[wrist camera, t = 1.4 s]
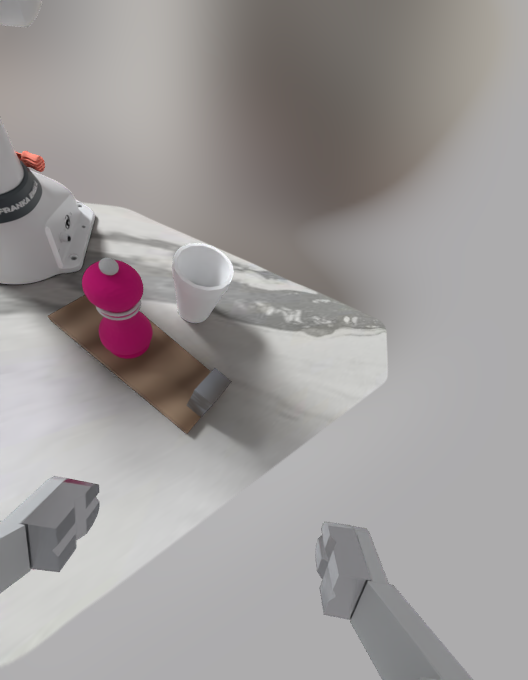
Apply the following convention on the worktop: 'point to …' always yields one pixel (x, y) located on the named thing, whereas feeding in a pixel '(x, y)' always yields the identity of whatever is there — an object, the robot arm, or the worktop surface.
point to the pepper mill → (118, 307)
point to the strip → (149, 367)
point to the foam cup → (200, 280)
